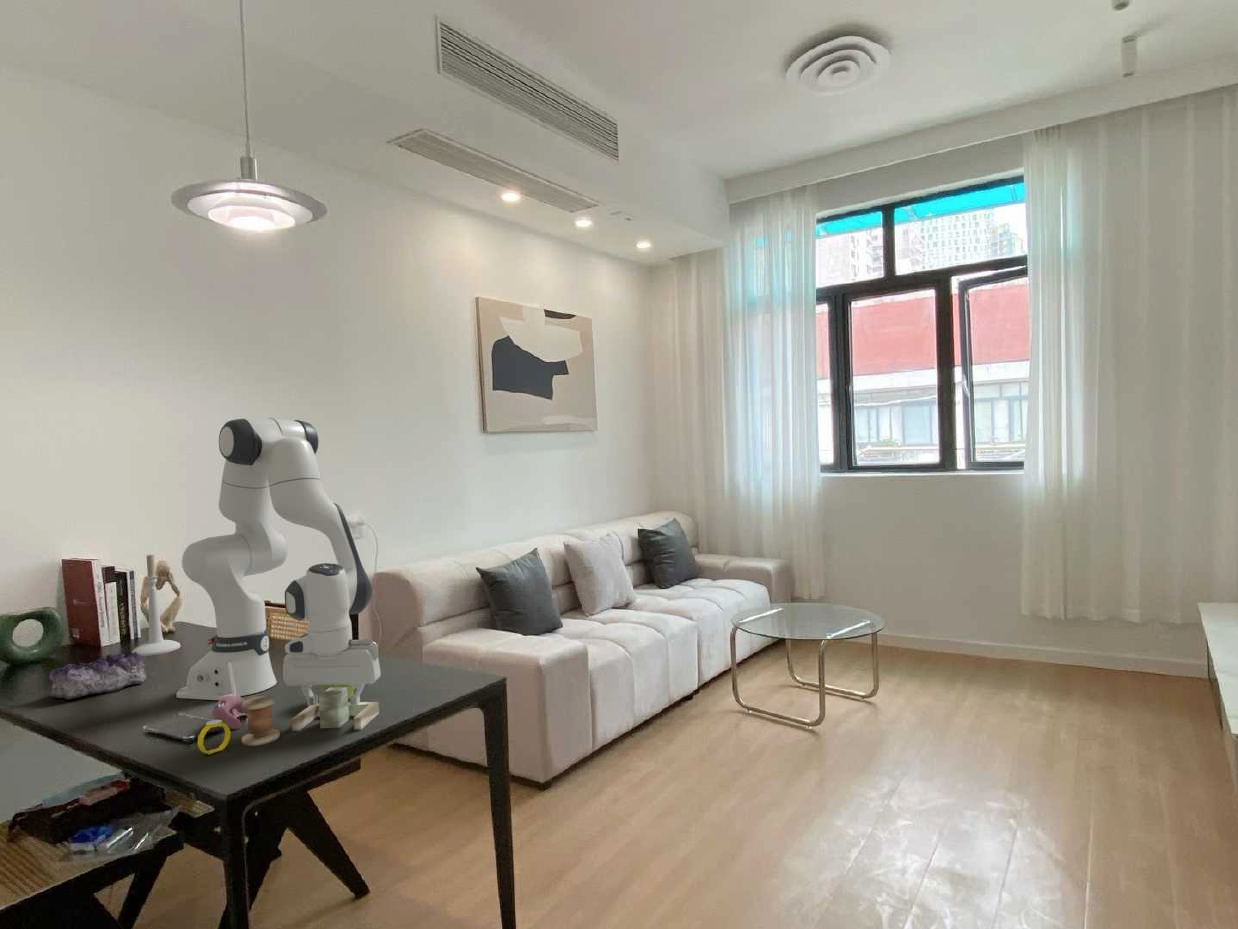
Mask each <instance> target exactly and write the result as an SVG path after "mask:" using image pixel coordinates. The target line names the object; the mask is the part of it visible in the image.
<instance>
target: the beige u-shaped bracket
mask: <svg viewBox="0 0 1238 929" xmlns="http://www.w3.org/2000/svg"><path fill="white" fill-rule="evenodd" d="M348 707H349V717H353V729H354V731H355V730H356V731H358V730H359V731H361V730H363V729H364V728H365V727H366V726H367V725H368V724H369V723H370V722H371V721H372V720H373V719H374V718H376V717H377V716H378V715H379V714H380V704H379V701H362V702H361V701H360V703H359V704H358V705H351V704H350V702H348ZM318 717H319V718H320V709H319V702H318V703H317V704H316V705H311V706H307V707H306V708H305V709H303V710H302V711H301V712H299V713H298V714H296V715H295V716H294V717H293V718H291V721H290V722H291V731H292V732H300V731H301V730H303V729H304V728H305V727H306V726H307V725H308V724H310V723H312V722H313V720H315V719H316V718H318Z"/></svg>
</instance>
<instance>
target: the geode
mask: <svg viewBox="0 0 1238 929" xmlns="http://www.w3.org/2000/svg"><path fill="white" fill-rule="evenodd" d="M146 667H147V666H146V665H145V664H144V658H143V656H141V655H140V654H138V653H137V652H134V653H133V652H132V651H130V653H129V654H123V653H120V654H119V656H117V655H110V654H109V655H108V654H107V655H106V658H105V659H104V658H103V657H100V658H98V659H96V660H95V661H92V662H90V663H86V662H85V663H84V662H80V661H78V662H77V663H76V664H74V663H73V664H72V663H68V664H66V665H65V666H64V667H57V668H53V669H52V670H50V673H49V677H48V678H49V680H50V681H51V682H52V685H51V692H50V693H51V694H50V696H51V697H52V698H58V699H65V700H72V699H77V698H80V697H84V696H90V695H94V694H104V693H114V692H117V691H119V690H122V689H123V688H125V687H128V686H132V685H142V684H144V683H146V682H147V676H146V675H147V674H146V672H145V670H146Z"/></svg>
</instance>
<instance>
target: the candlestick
mask: <svg viewBox="0 0 1238 929" xmlns="http://www.w3.org/2000/svg"><path fill="white" fill-rule="evenodd" d="M155 563H156V562H155V554H147V555H146V569H147V576H145V577H144V578H145V579H146V583H147V584H148V586H149V587H148V641H147V642H144V643H143V644H140V645H138V646H137V647H135V648H134V649H132V650H131V652H133V653H134V652H137V653H138V654H140V655H141V657H148V656H157V655H161V654H167V653H170V652H174V651H175V650H178V649H179V648H181V643H180V642H178V641H175V640H172V639H164V638H163V632H162V624H161V616H160V607H159V601H158V593H157V591H158V590H157V587H156V584H157V582H158V580H157V579H158V577H159V575H156V567H155V566H156V565H155Z"/></svg>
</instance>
